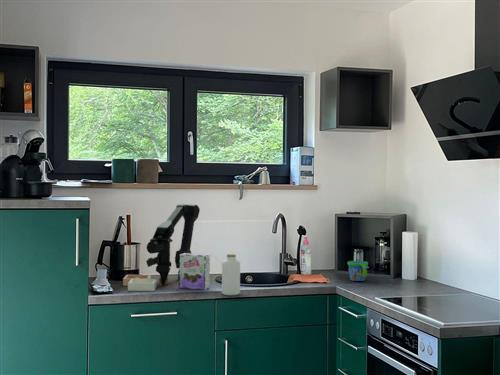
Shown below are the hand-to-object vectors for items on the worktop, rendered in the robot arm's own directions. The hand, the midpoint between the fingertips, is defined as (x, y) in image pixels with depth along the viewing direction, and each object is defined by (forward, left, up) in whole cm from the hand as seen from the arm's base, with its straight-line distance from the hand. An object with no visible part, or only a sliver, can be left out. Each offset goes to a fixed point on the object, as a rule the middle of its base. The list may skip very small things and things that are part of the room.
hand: (163, 283), depth 295 cm
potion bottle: (-32, +22, -1) cm, 39 cm away
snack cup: (-100, -16, -1) cm, 101 cm away
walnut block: (0, 0, -1) cm, 1 cm away
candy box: (-15, +7, -1) cm, 17 cm away
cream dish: (+9, +11, -1) cm, 14 cm away
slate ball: (+13, -2, 0) cm, 13 cm away
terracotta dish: (+13, -2, -1) cm, 13 cm away
